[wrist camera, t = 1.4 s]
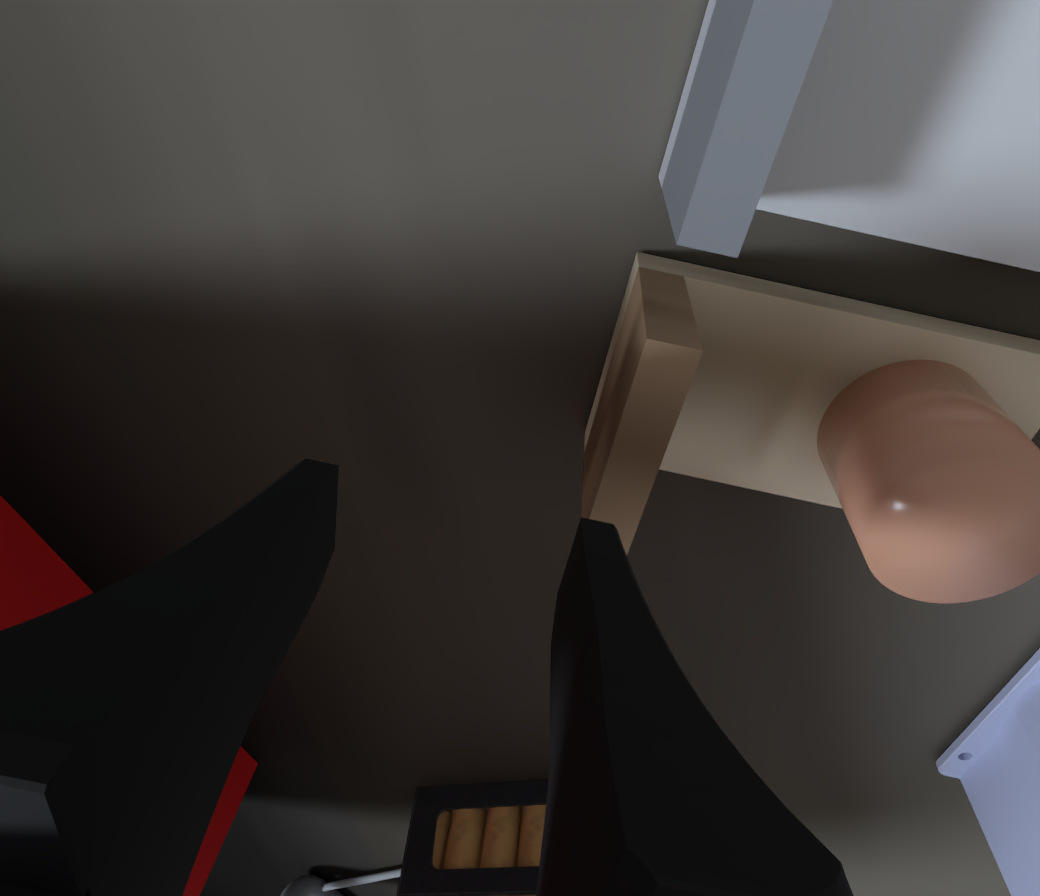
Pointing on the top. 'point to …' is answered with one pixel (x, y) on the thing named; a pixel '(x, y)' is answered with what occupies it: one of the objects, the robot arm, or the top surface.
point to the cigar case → (475, 840)
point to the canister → (934, 482)
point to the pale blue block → (863, 124)
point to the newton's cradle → (332, 884)
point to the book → (52, 584)
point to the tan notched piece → (756, 382)
